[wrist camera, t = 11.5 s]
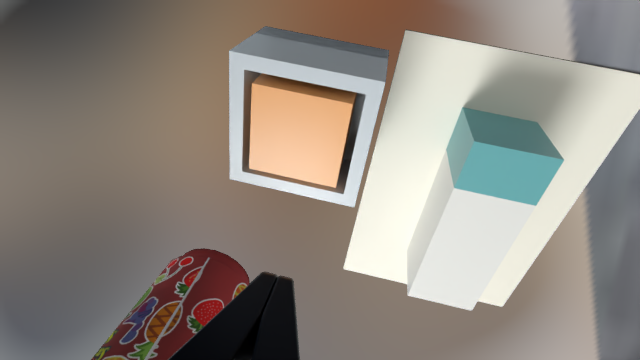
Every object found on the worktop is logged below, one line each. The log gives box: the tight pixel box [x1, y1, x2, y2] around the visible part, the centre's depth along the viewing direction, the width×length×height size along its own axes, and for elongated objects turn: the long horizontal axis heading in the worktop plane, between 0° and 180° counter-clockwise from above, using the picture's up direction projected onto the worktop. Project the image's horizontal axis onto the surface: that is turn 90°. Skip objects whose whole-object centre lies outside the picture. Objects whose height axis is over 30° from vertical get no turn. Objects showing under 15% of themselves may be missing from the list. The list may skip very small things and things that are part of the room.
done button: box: [249, 73, 357, 188], centre depth 16 cm, size 4×4×3 cm
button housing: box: [229, 26, 389, 207], centre depth 17 cm, size 6×6×4 cm
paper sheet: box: [344, 29, 640, 307], centre depth 21 cm, size 16×11×1 cm
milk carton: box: [407, 107, 564, 311], centre depth 19 cm, size 10×4×4 cm, turn 172°
